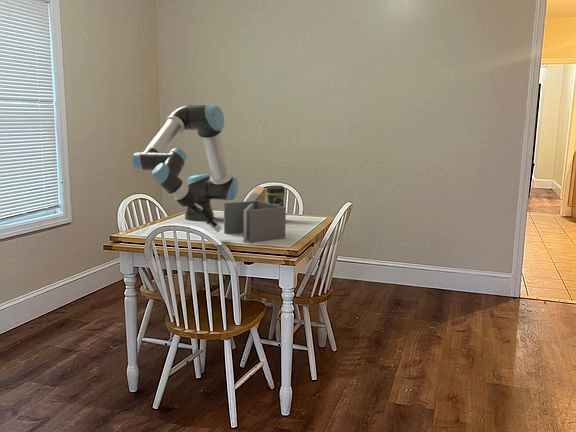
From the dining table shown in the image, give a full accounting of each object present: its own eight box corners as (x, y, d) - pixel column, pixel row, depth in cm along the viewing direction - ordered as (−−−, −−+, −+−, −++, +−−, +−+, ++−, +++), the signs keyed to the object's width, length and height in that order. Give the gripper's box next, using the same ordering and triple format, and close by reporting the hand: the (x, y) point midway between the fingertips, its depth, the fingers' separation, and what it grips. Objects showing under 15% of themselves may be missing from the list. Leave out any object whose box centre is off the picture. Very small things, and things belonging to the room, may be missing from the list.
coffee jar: (281, 219, 294) (281, 184, 291) (286, 221, 287) (287, 186, 284) (264, 219, 291) (264, 184, 288) (268, 222, 284) (269, 186, 281)
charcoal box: (249, 242, 235) (250, 210, 232) (224, 233, 254) (223, 203, 252) (285, 238, 245) (285, 207, 242) (257, 229, 264) (257, 200, 262)
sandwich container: (234, 214, 307) (234, 187, 305) (256, 212, 317) (256, 186, 315) (243, 216, 301) (243, 189, 298) (265, 214, 311) (265, 187, 308)
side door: (243, 241, 235) (243, 210, 233) (250, 232, 256) (250, 203, 253) (246, 242, 235) (246, 210, 233) (253, 232, 256) (253, 203, 253)
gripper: (170, 199, 233) (207, 233, 245) (183, 202, 222) (220, 239, 234) (182, 185, 235) (218, 221, 247) (195, 189, 224) (231, 225, 236)
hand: (219, 229), depth 240 cm, fingers closed
